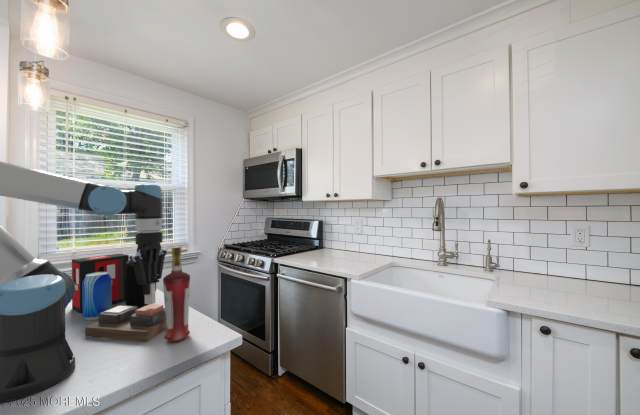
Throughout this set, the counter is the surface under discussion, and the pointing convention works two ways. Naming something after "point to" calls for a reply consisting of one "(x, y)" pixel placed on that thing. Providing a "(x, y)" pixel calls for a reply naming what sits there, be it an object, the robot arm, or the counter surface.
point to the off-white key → (118, 309)
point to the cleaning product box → (105, 263)
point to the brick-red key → (149, 310)
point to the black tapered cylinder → (133, 288)
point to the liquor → (176, 300)
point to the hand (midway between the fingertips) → (150, 303)
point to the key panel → (127, 326)
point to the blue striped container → (96, 294)
